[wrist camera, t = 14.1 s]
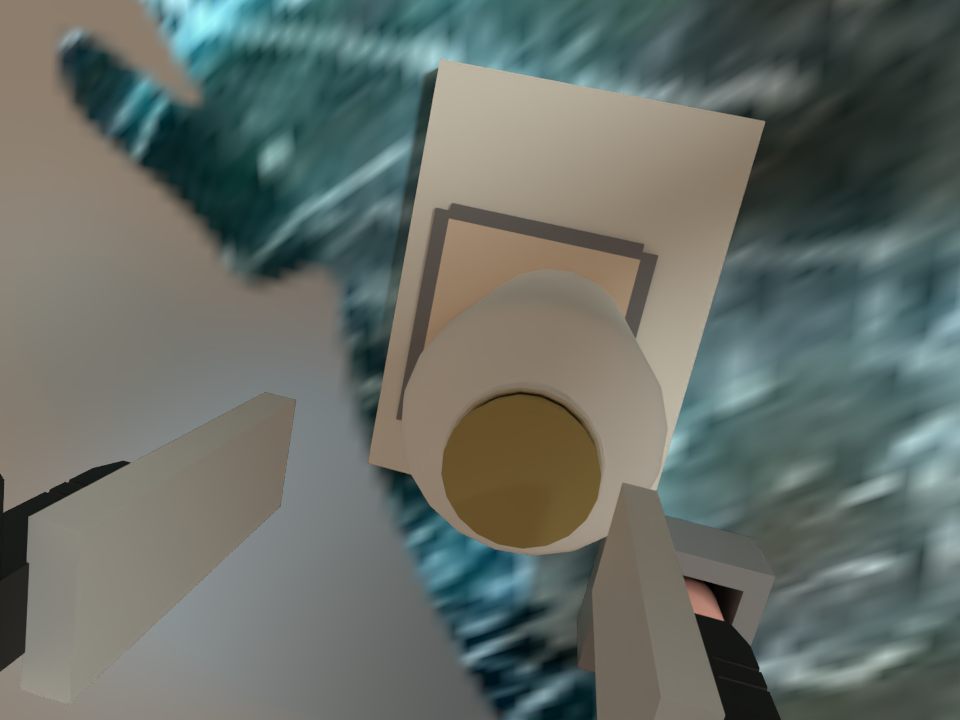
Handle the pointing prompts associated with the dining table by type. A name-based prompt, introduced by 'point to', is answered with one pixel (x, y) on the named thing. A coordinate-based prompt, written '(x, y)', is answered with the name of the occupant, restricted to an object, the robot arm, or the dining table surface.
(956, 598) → the dining table surface
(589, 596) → the button housing
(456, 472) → the potion bottle
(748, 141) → the colouring board
